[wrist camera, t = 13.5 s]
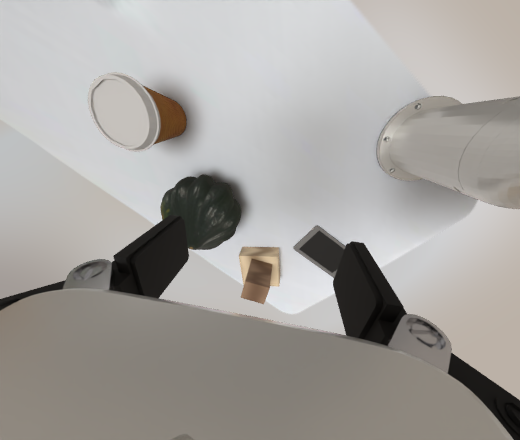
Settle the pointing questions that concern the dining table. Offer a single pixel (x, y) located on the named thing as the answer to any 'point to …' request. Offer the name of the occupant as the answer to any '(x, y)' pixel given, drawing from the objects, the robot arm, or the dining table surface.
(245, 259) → the oak base block
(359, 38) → the dining table surface
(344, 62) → the dining table surface
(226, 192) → the squash
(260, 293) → the walnut block
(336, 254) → the smartphone
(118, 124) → the disposable coffee cup
